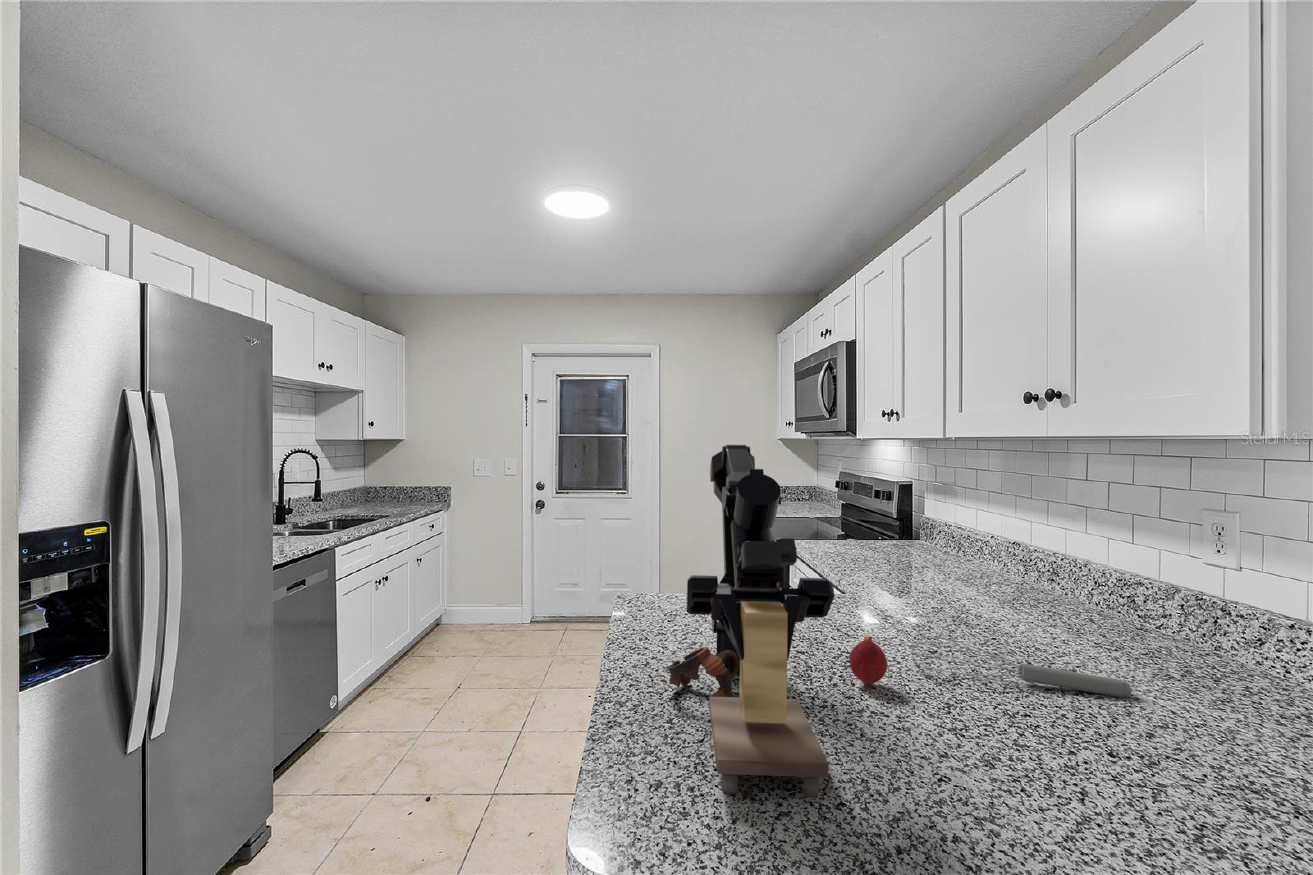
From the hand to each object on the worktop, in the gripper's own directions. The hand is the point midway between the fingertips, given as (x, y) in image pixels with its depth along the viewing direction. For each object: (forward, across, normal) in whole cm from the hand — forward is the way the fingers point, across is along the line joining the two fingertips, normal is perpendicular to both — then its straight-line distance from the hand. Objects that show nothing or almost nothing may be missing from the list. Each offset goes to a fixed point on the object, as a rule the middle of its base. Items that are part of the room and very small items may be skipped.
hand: (764, 659), depth 68 cm
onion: (-8, +21, +27) cm, 35 cm away
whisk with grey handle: (-10, +46, +29) cm, 56 cm away
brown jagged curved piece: (-4, -6, +23) cm, 24 cm away
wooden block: (+4, 0, +6) cm, 7 cm away
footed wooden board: (+8, 0, +10) cm, 13 cm away
